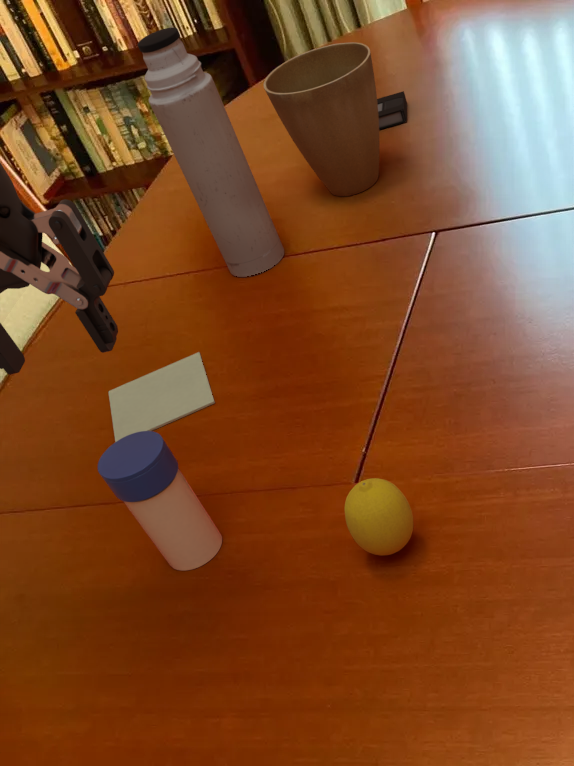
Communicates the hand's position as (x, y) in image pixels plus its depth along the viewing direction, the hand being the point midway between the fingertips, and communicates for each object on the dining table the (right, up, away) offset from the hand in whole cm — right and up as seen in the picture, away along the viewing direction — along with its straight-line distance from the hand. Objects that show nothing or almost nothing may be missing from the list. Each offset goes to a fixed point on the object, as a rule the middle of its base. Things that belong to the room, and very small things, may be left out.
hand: (63, 356), depth 68 cm
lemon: (+25, -14, +9) cm, 30 cm away
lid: (+3, -7, +8) cm, 10 cm away
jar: (+5, -14, +16) cm, 22 cm away
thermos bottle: (+3, +27, +52) cm, 59 cm away
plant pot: (+16, +42, +60) cm, 75 cm away
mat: (-4, +5, +36) cm, 36 cm away
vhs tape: (+16, +58, +74) cm, 95 cm away
